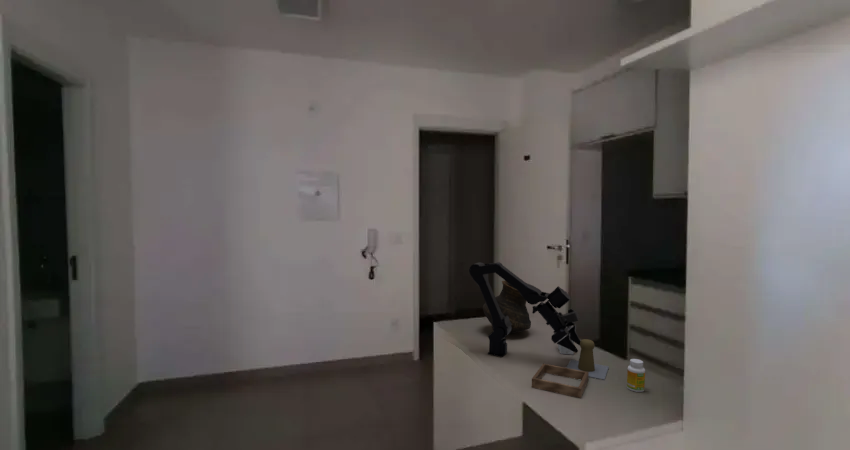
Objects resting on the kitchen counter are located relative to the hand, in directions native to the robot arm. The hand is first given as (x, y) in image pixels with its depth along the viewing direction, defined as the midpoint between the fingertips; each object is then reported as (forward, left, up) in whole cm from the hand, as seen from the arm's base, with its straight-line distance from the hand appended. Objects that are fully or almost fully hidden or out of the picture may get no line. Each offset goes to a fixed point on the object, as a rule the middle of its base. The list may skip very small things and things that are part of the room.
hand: (579, 348), depth 161 cm
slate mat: (+3, 0, -8) cm, 8 cm away
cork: (+3, 0, -7) cm, 8 cm away
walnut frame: (-3, -18, -8) cm, 20 cm away
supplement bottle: (+20, -9, -8) cm, 23 cm away
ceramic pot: (-38, +29, -8) cm, 49 cm away
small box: (-8, +17, -8) cm, 20 cm away
